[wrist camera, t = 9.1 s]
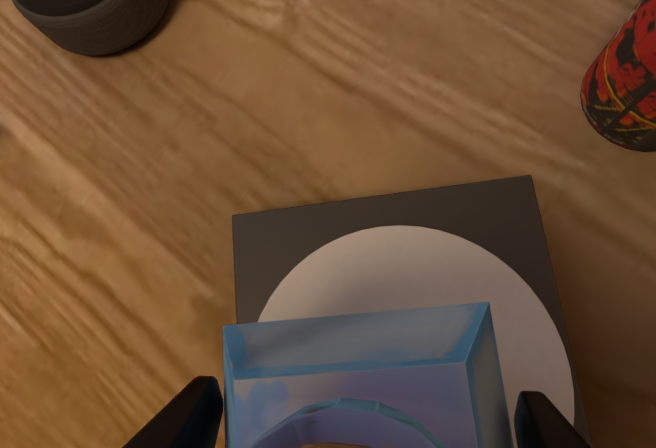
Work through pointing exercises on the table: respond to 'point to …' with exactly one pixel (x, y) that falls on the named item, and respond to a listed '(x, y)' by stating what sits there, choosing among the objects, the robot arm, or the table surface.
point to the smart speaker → (93, 22)
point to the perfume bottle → (367, 381)
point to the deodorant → (625, 83)
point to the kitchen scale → (419, 272)
